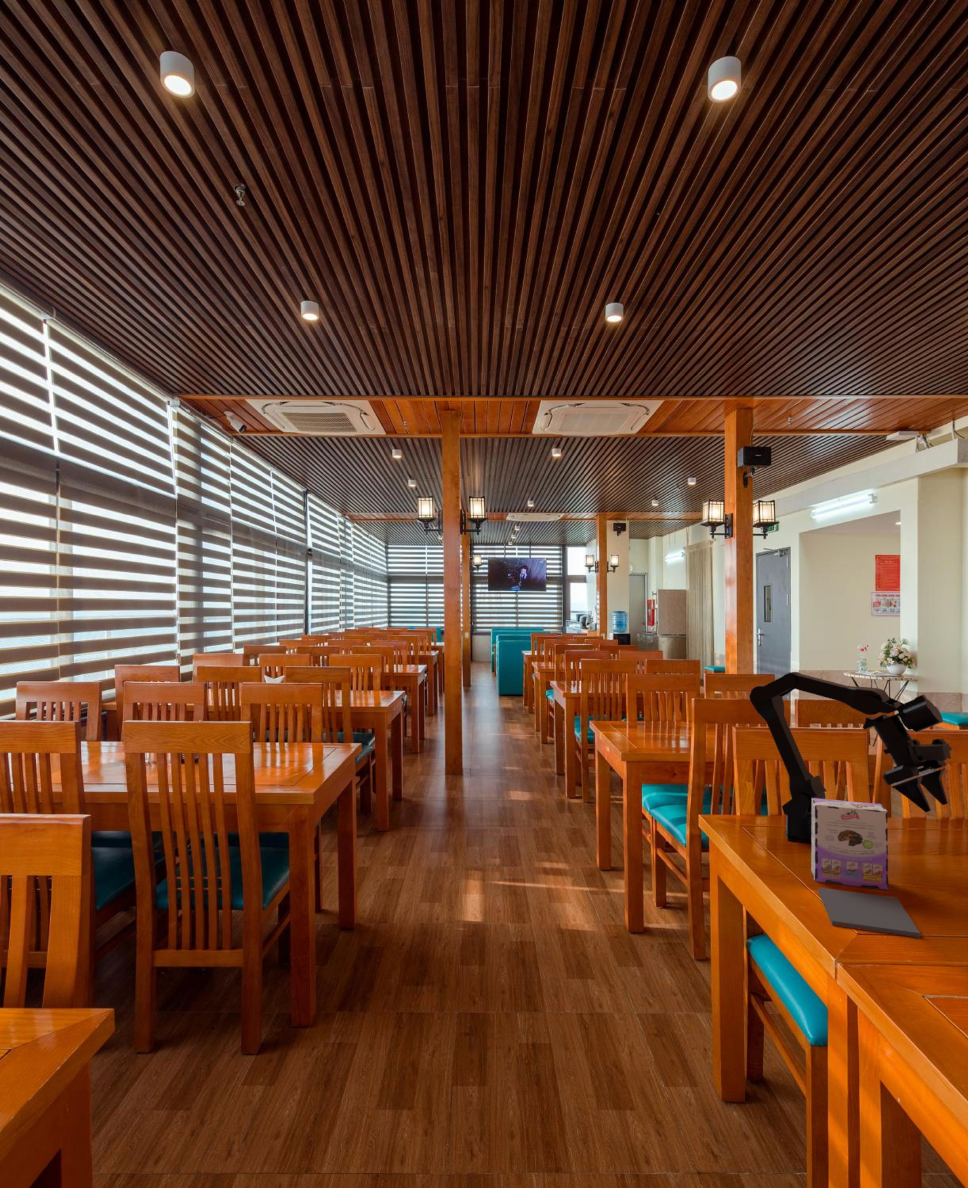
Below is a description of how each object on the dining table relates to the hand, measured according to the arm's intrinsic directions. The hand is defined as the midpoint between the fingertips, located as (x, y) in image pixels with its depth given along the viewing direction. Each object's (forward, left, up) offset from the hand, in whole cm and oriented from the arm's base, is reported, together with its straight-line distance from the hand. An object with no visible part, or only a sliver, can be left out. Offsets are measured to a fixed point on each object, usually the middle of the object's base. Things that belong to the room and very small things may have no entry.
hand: (937, 807), depth 146 cm
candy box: (-19, -10, -15) cm, 26 cm away
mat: (-19, -26, -14) cm, 35 cm away
